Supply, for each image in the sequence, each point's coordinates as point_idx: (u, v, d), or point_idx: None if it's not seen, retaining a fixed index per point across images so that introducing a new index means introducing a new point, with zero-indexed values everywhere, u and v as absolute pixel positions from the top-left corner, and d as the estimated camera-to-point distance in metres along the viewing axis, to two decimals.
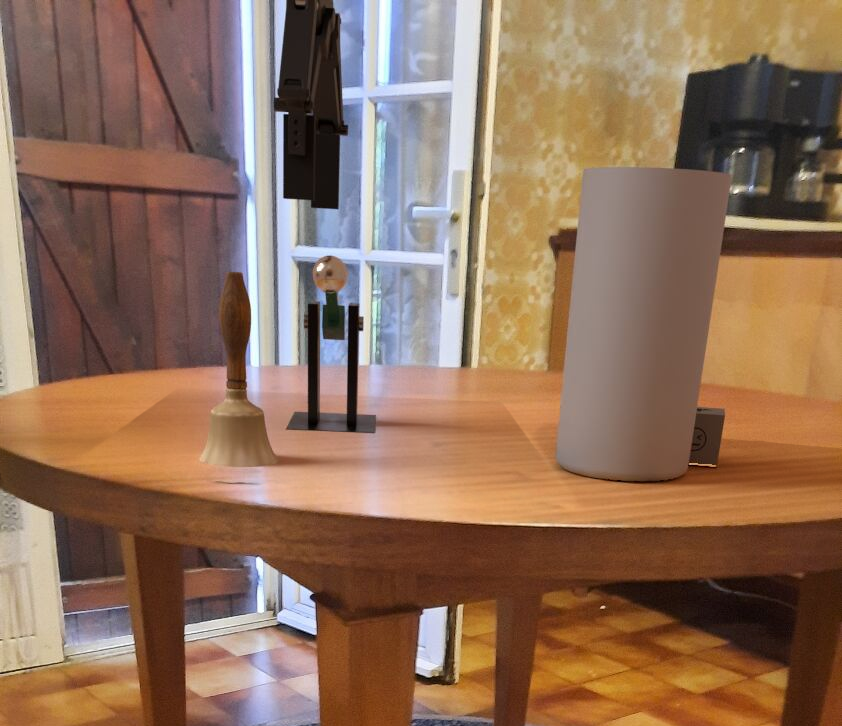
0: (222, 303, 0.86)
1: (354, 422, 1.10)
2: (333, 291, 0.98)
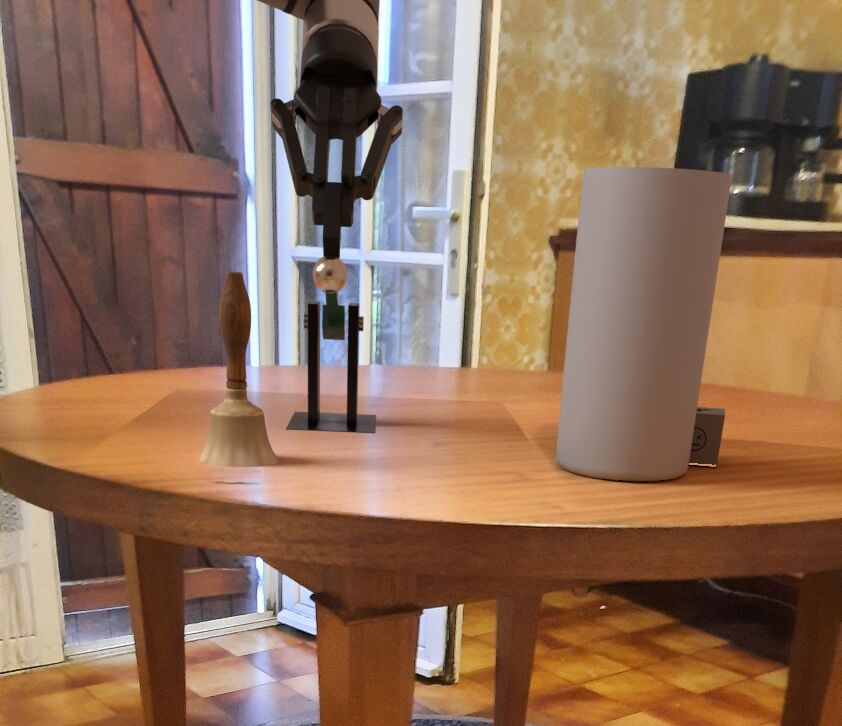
0: (222, 303, 0.86)
1: (354, 422, 1.10)
2: (333, 291, 0.98)
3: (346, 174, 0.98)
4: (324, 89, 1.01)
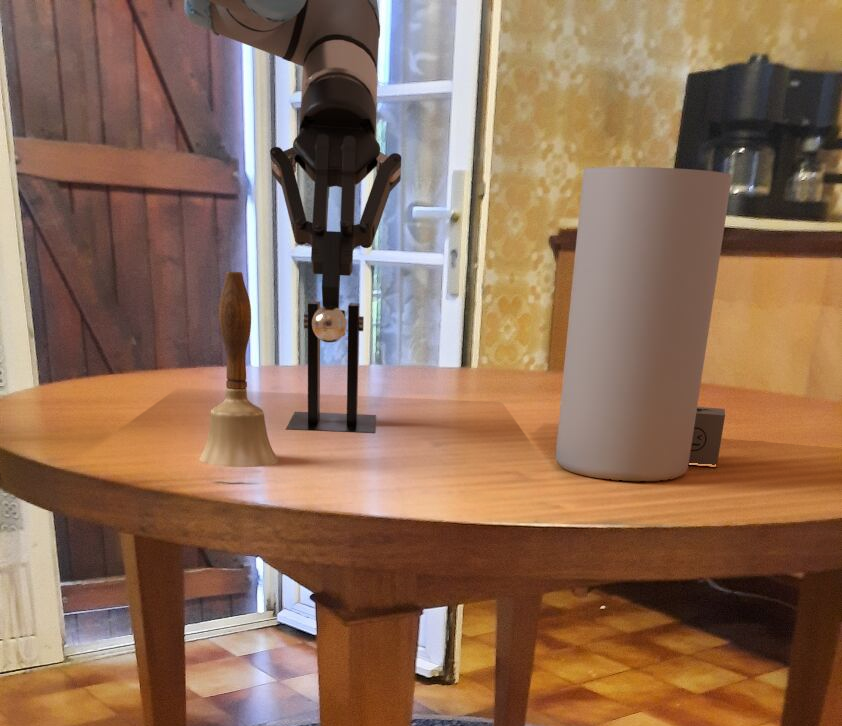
0: (222, 303, 0.86)
1: (354, 422, 1.10)
2: None
3: (345, 223, 0.99)
4: (323, 138, 1.02)
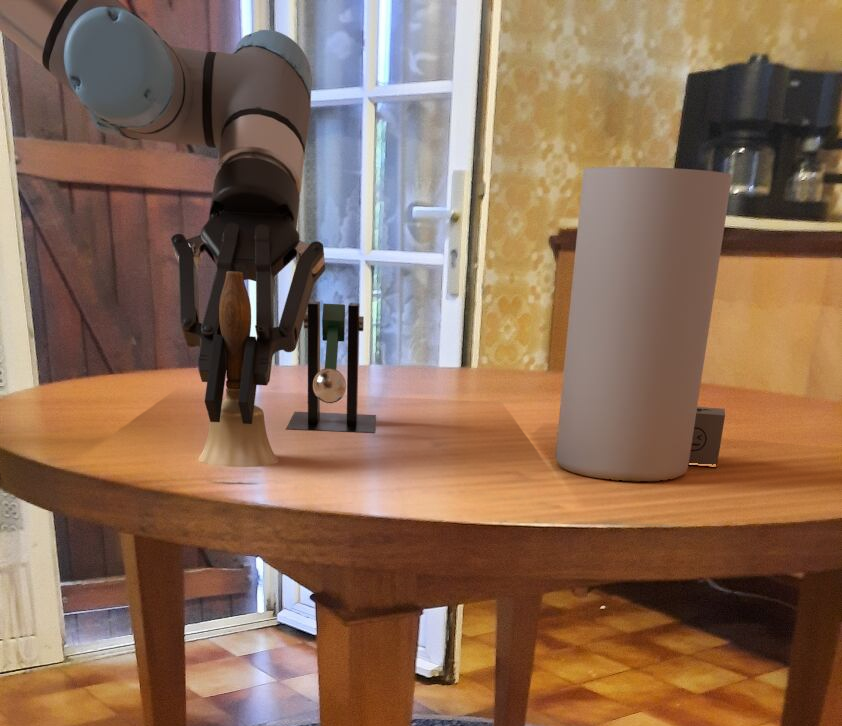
0: (222, 302, 0.86)
1: (354, 422, 1.10)
2: None
3: (261, 328, 0.87)
4: (233, 226, 0.90)
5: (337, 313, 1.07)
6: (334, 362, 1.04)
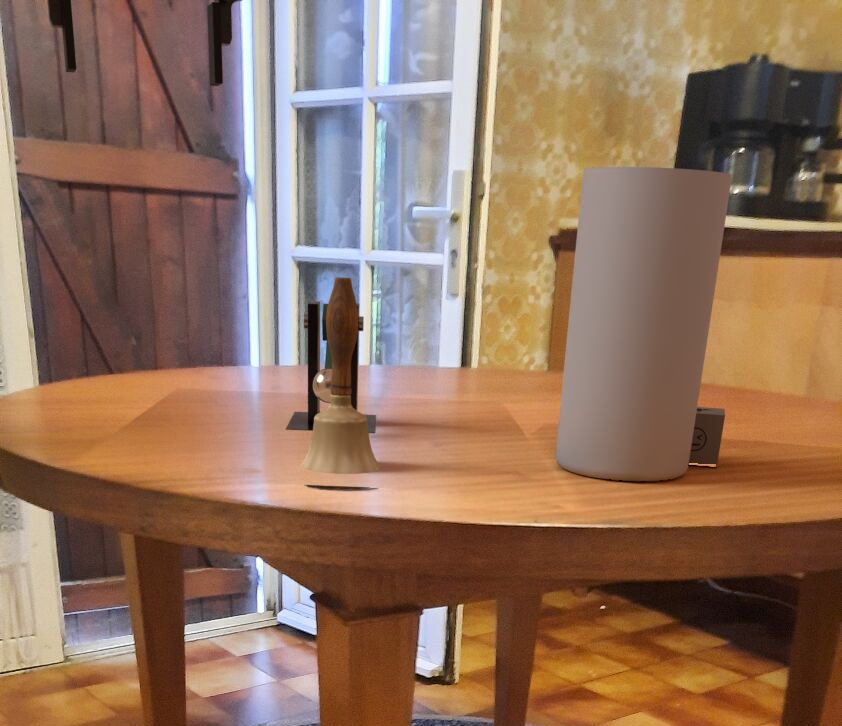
0: (331, 309, 0.85)
1: None
2: None
3: None
4: None
5: None
6: None
